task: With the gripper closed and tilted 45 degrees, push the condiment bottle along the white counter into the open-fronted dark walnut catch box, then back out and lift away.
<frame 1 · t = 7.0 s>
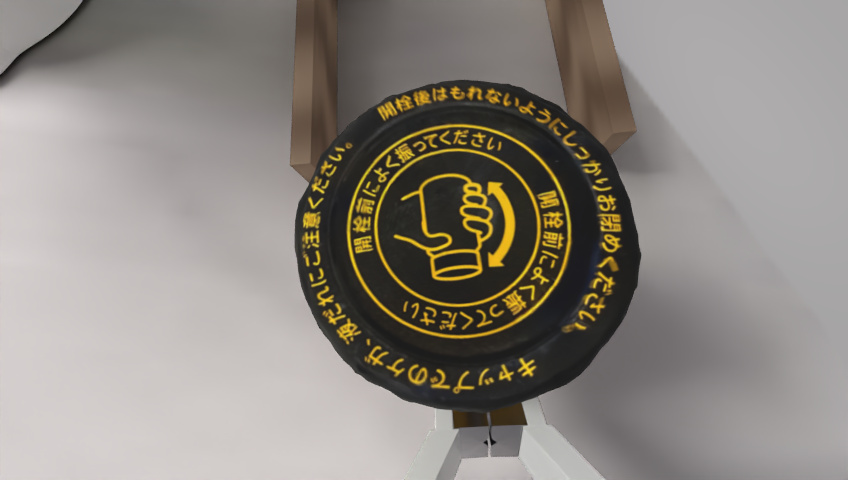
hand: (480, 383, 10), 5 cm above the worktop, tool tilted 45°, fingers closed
catch box: (444, 64, 19), on the worktop
condiment: (464, 277, 16), on the worktop, touching gripper
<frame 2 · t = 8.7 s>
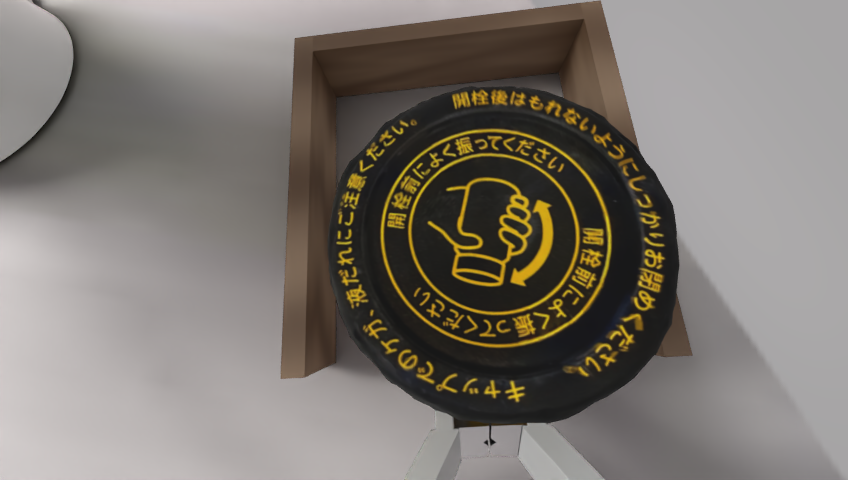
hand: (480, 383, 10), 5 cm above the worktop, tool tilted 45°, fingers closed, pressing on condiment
catch box: (456, 205, 17), on the worktop
condiment: (477, 287, 16), on the worktop, touching gripper
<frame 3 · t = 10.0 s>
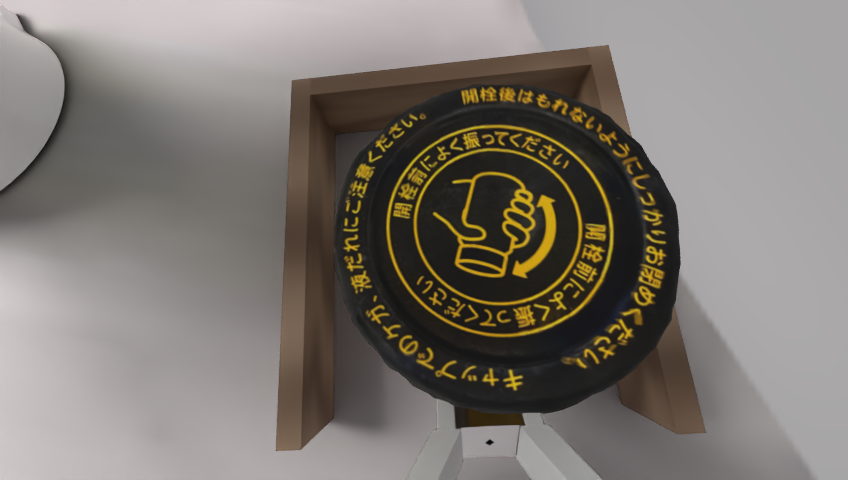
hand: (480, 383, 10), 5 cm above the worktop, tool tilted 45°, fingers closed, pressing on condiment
catch box: (458, 250, 16), on the worktop
condiment: (479, 289, 16), on the worktop, touching gripper
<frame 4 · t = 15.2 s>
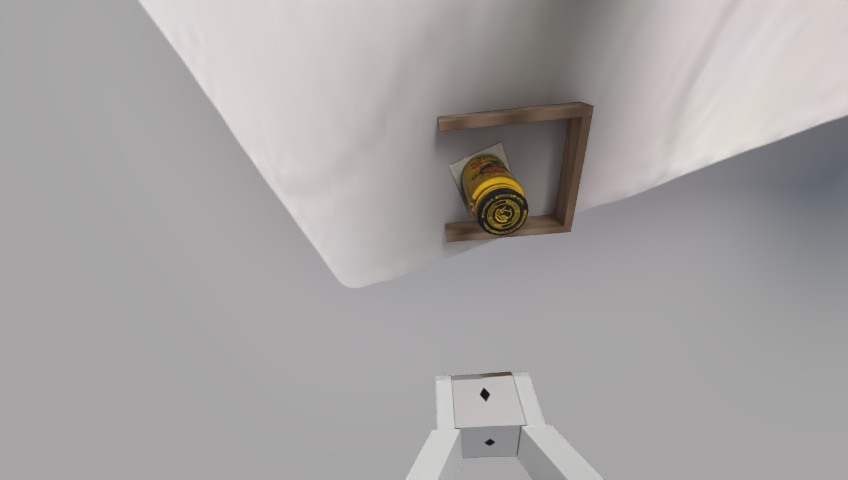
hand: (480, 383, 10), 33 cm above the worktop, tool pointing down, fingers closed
catch box: (501, 173, 40), on the worktop
condiment: (484, 181, 41), on the worktop
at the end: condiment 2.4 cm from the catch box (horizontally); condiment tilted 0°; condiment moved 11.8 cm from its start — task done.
